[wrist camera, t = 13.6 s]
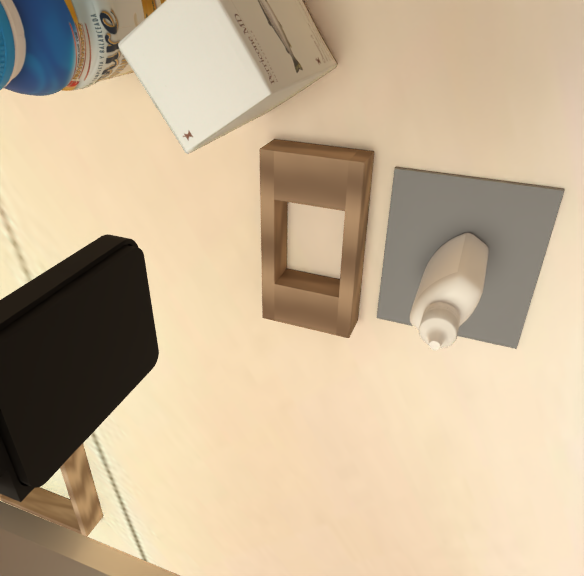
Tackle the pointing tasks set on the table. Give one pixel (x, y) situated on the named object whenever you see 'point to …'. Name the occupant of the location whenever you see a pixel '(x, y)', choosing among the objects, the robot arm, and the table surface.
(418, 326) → the eye dropper bottle
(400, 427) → the table surface
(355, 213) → the frame
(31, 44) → the beverage bottle
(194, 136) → the supplement box
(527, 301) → the rubber pad
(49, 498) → the box frame
